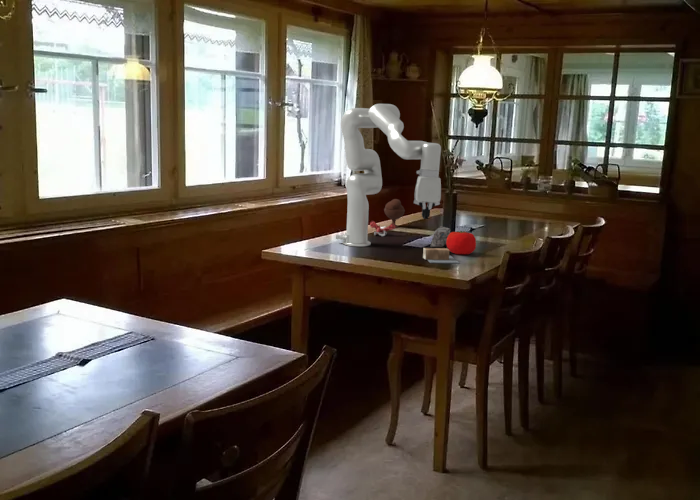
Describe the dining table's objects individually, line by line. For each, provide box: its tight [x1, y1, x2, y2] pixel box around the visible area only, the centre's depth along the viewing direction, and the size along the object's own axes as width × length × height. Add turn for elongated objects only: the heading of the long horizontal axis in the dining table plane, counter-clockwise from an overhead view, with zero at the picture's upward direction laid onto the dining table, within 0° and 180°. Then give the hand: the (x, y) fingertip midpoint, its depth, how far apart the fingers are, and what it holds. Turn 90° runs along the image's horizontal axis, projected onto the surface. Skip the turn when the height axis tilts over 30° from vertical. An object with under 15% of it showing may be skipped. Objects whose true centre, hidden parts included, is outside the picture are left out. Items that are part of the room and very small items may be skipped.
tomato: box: [445, 230, 477, 255], centre depth 318 cm, size 11×13×10 cm
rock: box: [429, 225, 451, 248], centre depth 335 cm, size 16×8×10 cm, turn 146°
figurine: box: [368, 220, 396, 237], centre depth 357 cm, size 15×12×7 cm
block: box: [422, 247, 451, 261], centre depth 304 cm, size 4×4×10 cm
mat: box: [426, 254, 460, 264], centre depth 305 cm, size 12×14×1 cm
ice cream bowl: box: [383, 198, 406, 229], centre depth 380 cm, size 11×11×15 cm
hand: (425, 218), depth 301 cm, fingers closed
